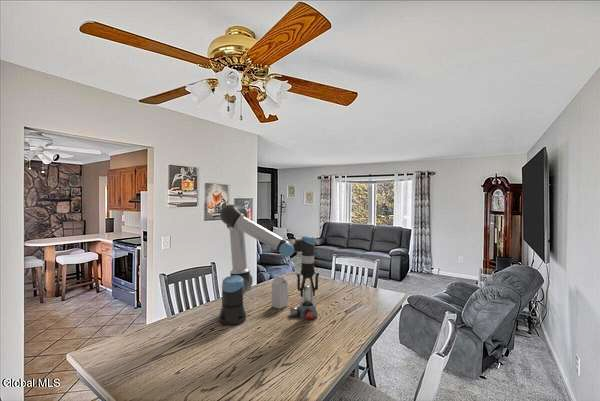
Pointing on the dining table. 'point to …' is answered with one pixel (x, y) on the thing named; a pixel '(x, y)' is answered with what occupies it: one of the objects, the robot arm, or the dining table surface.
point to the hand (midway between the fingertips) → (307, 301)
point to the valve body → (304, 311)
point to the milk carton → (279, 292)
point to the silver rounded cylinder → (307, 295)
